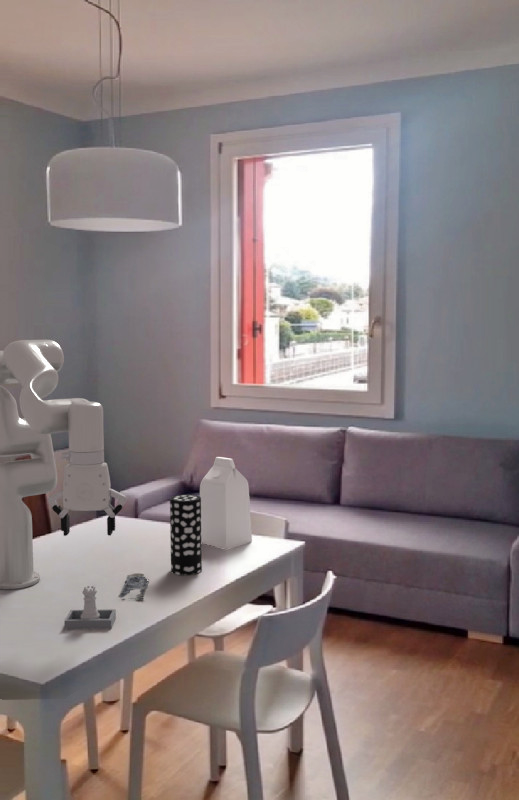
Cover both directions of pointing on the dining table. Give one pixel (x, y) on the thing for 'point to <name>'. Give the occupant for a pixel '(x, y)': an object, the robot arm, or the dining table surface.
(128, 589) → the driftwood
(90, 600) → the rook chess piece
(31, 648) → the dining table surface
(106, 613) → the gray rectangular open tray
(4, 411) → the robot arm
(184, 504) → the white-spotted black cylinder
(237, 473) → the milk
